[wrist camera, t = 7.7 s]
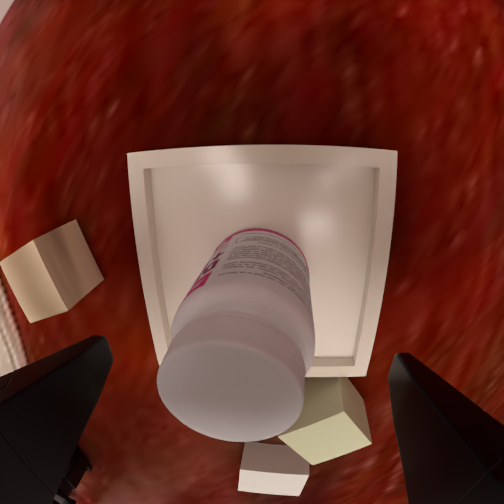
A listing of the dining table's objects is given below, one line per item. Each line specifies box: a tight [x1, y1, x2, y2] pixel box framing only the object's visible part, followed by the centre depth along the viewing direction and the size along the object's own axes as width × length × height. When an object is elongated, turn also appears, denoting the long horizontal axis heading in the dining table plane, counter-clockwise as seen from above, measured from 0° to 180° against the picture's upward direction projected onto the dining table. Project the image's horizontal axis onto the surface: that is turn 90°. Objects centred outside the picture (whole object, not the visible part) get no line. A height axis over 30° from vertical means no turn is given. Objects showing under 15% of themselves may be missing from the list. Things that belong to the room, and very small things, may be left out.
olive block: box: [278, 377, 372, 465], centre depth 17 cm, size 4×4×4 cm
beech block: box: [0, 219, 104, 323], centre depth 16 cm, size 4×4×4 cm
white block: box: [238, 442, 309, 496], centre depth 20 cm, size 5×4×3 cm
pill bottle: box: [157, 227, 315, 442], centre depth 11 cm, size 5×5×8 cm
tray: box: [127, 144, 397, 377], centre depth 15 cm, size 12×12×1 cm
